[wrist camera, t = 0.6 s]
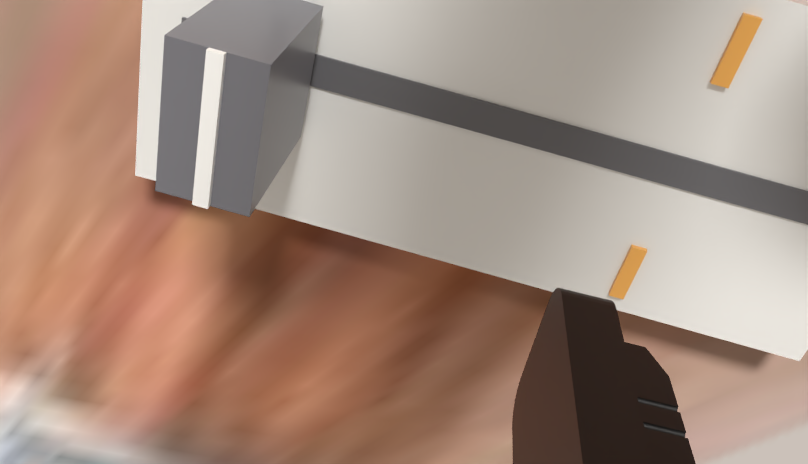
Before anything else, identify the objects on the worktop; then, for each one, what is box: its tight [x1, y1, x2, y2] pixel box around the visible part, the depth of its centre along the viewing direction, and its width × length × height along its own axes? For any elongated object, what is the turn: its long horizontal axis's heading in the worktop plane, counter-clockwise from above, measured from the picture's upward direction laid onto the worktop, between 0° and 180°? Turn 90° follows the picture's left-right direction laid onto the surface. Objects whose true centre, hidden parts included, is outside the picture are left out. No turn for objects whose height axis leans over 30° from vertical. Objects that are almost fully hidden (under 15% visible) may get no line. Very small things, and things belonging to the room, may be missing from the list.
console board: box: [135, 0, 808, 361], centre depth 28 cm, size 13×28×2 cm, turn 76°
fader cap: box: [155, 0, 323, 217], centre depth 24 cm, size 5×3×6 cm, turn 166°
